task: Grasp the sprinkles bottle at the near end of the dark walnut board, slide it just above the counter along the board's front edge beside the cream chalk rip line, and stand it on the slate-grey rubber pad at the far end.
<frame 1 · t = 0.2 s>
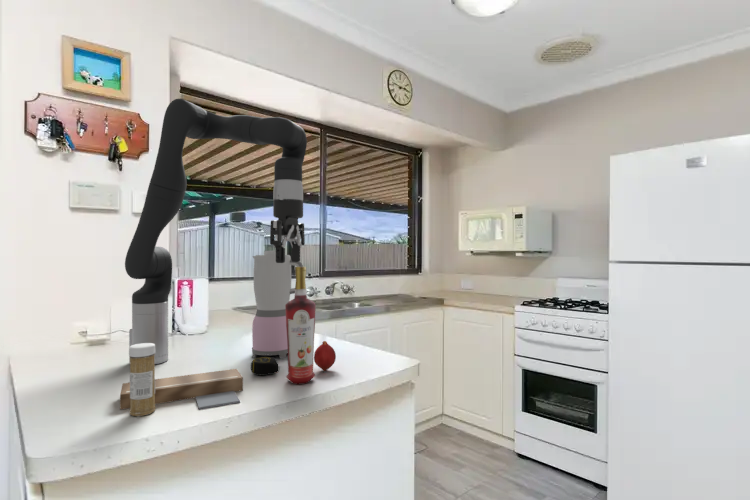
hand: (288, 262, 107), 29 cm above the counter, fingers open, 8 cm apart
tape measure: (267, 374, 110), on the counter
liquor: (300, 382, 102), on the counter
sprinkles bottle: (142, 413, 83), on the counter
onion: (324, 371, 111), on the counter
grey pad: (217, 400, 89), on the counter
blender: (277, 355, 129), on the counter
walnut board: (184, 393, 93), on the counter
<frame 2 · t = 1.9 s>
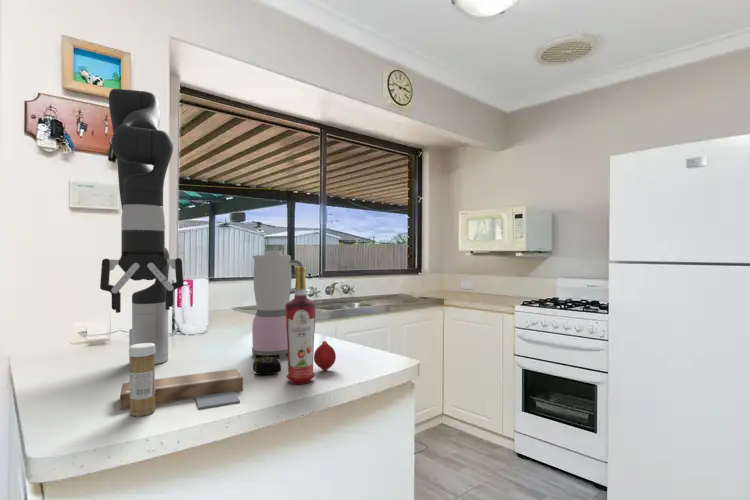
hand: (143, 310, 83), 20 cm above the counter, fingers open, 8 cm apart
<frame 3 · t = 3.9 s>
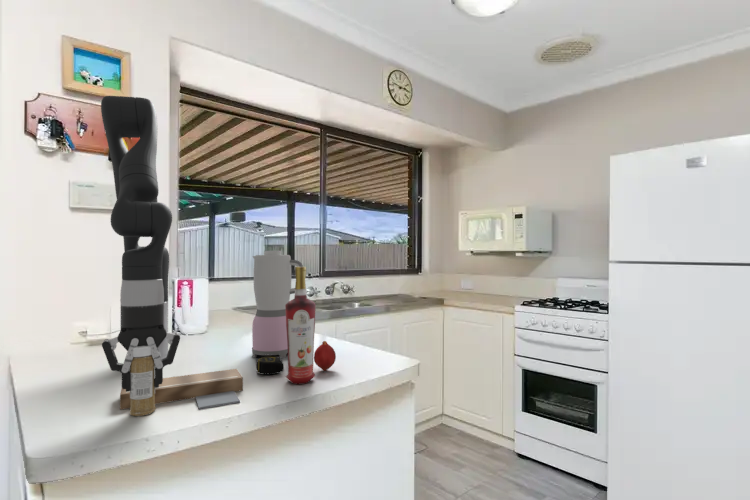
hand: (142, 388, 83), 5 cm above the counter, fingers closed on sprinkles bottle, 4 cm apart
sprinkles bottle: (142, 413, 83), on the counter, touching gripper
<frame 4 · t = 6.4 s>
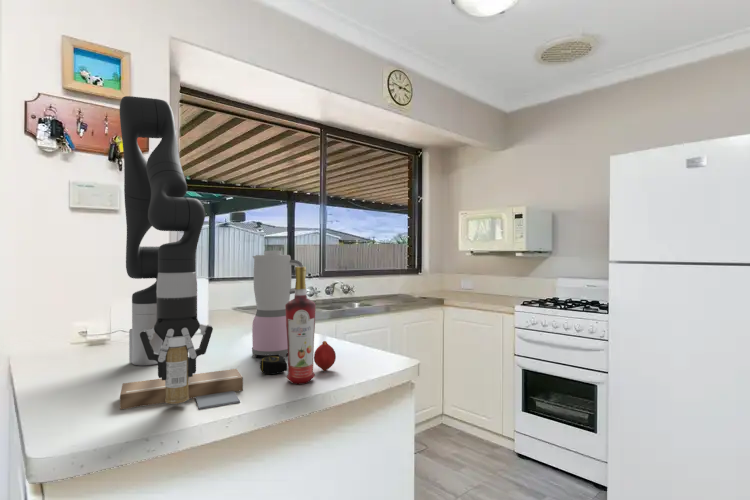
hand: (177, 377, 86), 6 cm above the counter, fingers closed on sprinkles bottle, 4 cm apart
sprinkles bottle: (176, 401, 86), point 1 cm above the counter, touching gripper
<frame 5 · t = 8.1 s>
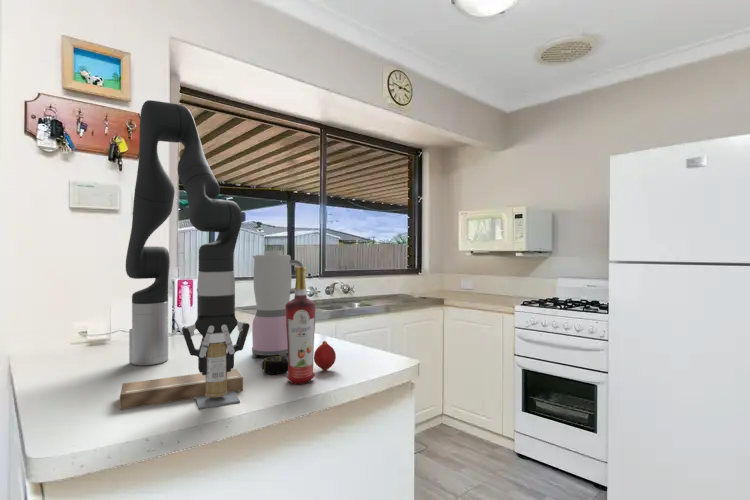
hand: (216, 372, 89), 6 cm above the counter, fingers closed on sprinkles bottle, 4 cm apart
sprinkles bottle: (216, 395, 89), point 1 cm above the counter, touching gripper
when the fingers open (6 cm above the counter, at t = 9.2 s): sprinkles bottle stays where it is, resting on grey pad.
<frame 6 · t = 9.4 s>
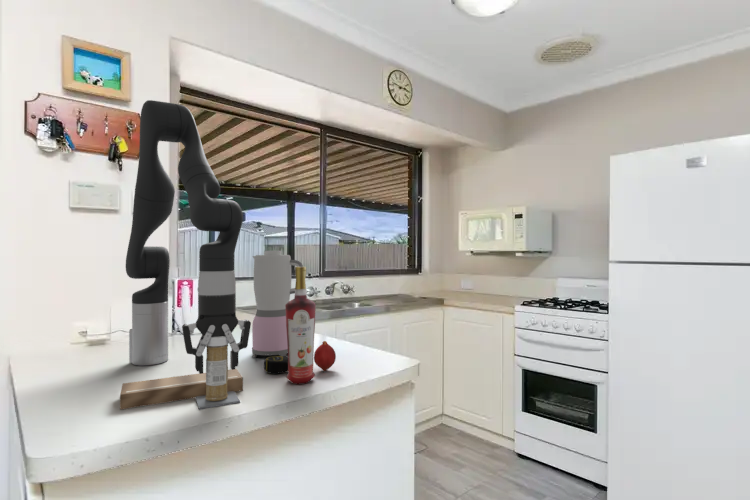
hand: (217, 370, 89), 6 cm above the counter, fingers open, 6 cm apart
sprinkles bottle: (216, 399, 89), resting on grey pad
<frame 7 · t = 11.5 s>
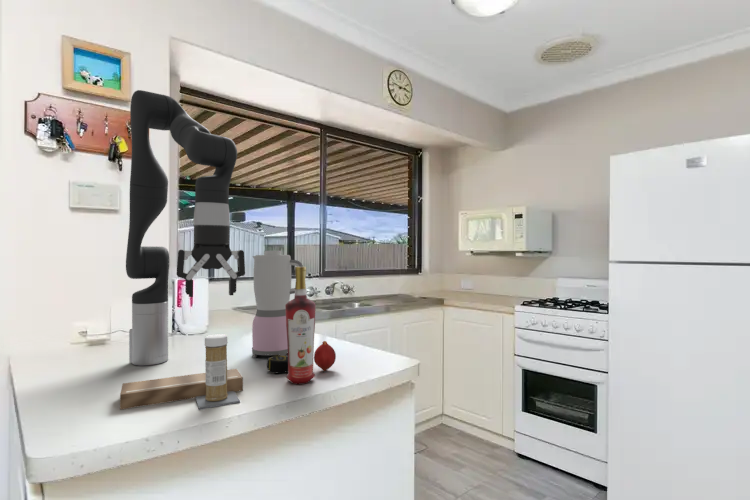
hand: (211, 295, 94), 22 cm above the counter, fingers open, 8 cm apart
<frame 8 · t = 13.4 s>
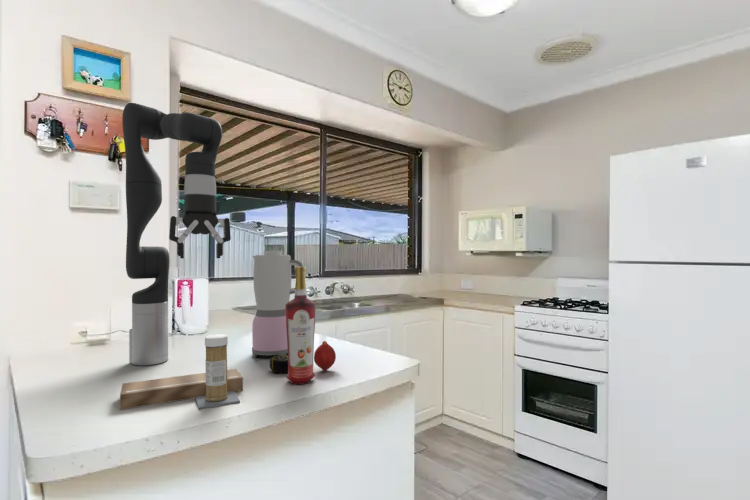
hand: (200, 258, 106), 30 cm above the counter, fingers open, 8 cm apart
at the end: sprinkles bottle 0.2 cm off-centre on the grey pad, point 0.2 cm above the grey pad's base; sprinkles bottle tilted 0°; the gripper is holding nothing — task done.
